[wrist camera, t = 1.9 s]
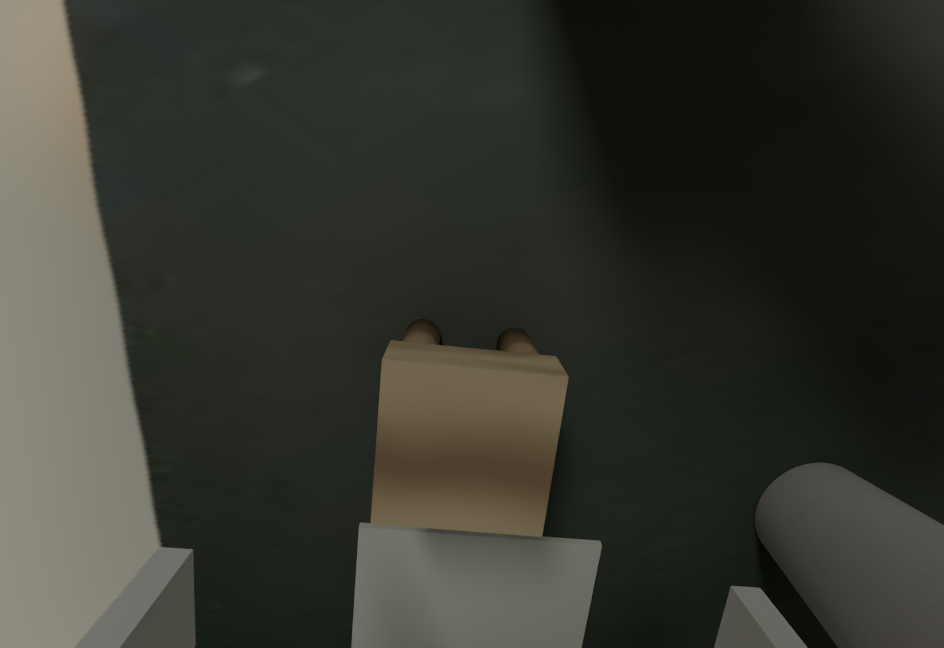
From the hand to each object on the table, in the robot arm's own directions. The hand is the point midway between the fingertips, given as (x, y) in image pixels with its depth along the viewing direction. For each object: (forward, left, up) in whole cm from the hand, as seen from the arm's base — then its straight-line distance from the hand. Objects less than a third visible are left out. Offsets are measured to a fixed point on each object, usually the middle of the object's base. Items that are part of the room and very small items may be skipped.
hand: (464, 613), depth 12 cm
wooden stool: (0, 0, -15) cm, 15 cm away
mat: (+18, +2, -15) cm, 23 cm away
